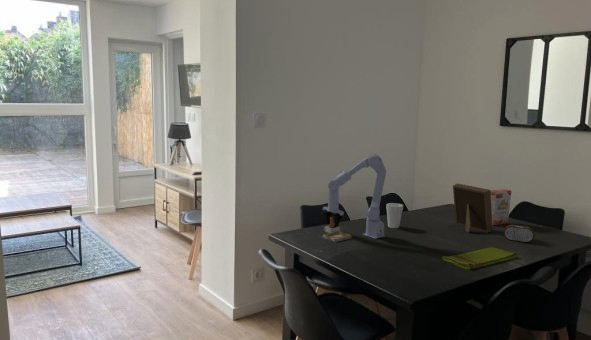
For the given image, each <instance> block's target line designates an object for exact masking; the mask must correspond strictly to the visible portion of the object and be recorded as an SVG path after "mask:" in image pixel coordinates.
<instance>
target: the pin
mask: <svg viewBox="0 0 591 340" xmlns="http://www.w3.org/2000/svg"><path fill="white" fill-rule="evenodd" d="M329 226H330V228H332V229H333V228H335V222H334V216H331V217H330V224H329Z"/></svg>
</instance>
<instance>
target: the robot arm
mask: <svg viewBox="0 0 591 340" xmlns="http://www.w3.org/2000/svg"><path fill="white" fill-rule="evenodd" d="M369 167H370V168H371V169H372V170H374V172H375V173H376V179H375V184H374V190H373V194H372V199H371V204H370V206H369V208H368V210H367V217H366V221H365V222H366V225H365V233H362V235H363V236H366V237H370V238H371V239H374V240H375V239H379V238H385V237H386V235H385V223H384V222H383V221H381V218H380V213H381V212H380V211H381V210H380V204H381V200H382V194H383V190H384V185H385V181H386V180H385V179H386V176H387V169H386V167H385V164H384V162H383V160H382V158H381V157H380V156H379V154H376V153H372V154H370V155H369V156H366V157H365V158H363V159H362V160H360V161H359V162H358V163H356V164H355V165H354V166H353V167H351V168H350V169H348V170H343V171H340V173H339V174H338V175H336V176H334V177H333V178H332V179H331V180H330V181H329V182H328V186H327V187H328V192H327V193H328V195H327V196H328V198H327V199H328V200H327V206H322V212H323V213H322V214H323V216H324V218H325V223H326V226H329V225H330V217H334V222H335V227H340V226H339V225H340V222H341V219H342V218H343V216H344V214H345V213H344V210H341V209H339V200H340V199H339V198H340V193H339V190H340V189H339V188H340V187H342V186H343V185H346V183H348V182H349V181H351V180H352V176H353V175H355V174H356V173H357V172H359V171H360V170H362V169H363V168H365V169H367V168H369ZM332 215H333V216H332Z"/></svg>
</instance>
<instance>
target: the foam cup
mask: <svg viewBox="0 0 591 340" xmlns="http://www.w3.org/2000/svg"><path fill="white" fill-rule="evenodd" d="M385 209H386V215H387V217H386V218H387V227H388V228H391V229H398V228H400V224H401V219H402V214H403V210H404V204H402V203H396V202H389V203H386V208H385Z"/></svg>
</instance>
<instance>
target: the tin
mask: <svg viewBox="0 0 591 340" xmlns="http://www.w3.org/2000/svg"><path fill="white" fill-rule="evenodd" d="M535 234H536V233H535V231H534V230H533V228H531V227H530V226H523V225H516V224H509V225H506V226H505V227H504V229H503V235H504V237H505V238H506V239H507V240H509V241H511V240H513V242H518V241H520V242H519V243H525V242H528V243H531V242H532V241H533V240H534V239H535Z"/></svg>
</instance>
